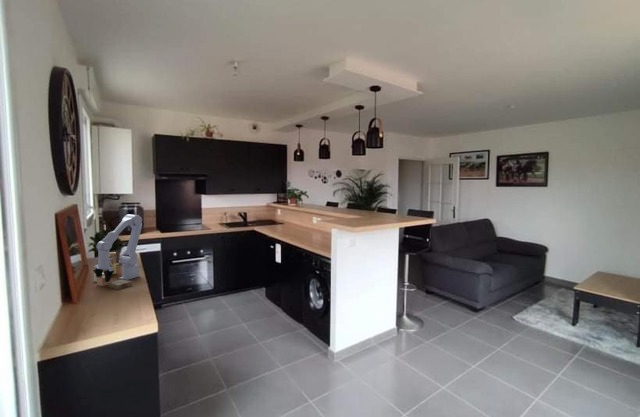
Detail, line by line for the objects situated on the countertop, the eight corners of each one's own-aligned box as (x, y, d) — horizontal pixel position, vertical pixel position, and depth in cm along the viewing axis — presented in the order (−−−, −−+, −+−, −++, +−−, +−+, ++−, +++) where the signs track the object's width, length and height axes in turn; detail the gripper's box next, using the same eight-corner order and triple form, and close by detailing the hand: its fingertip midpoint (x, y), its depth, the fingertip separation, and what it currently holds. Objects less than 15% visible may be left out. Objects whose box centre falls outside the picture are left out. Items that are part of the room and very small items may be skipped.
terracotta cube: (104, 283, 196) (104, 275, 196) (110, 284, 195) (110, 276, 194) (96, 285, 192) (96, 277, 192) (102, 286, 190) (102, 278, 190)
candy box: (115, 272, 220) (115, 251, 220) (116, 273, 217) (116, 252, 216) (100, 274, 215) (100, 252, 214) (101, 275, 212) (101, 254, 211)
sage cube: (101, 279, 203) (101, 272, 203) (106, 280, 202) (106, 273, 201) (93, 281, 199) (93, 274, 198) (99, 282, 197) (99, 275, 197)
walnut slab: (121, 284, 197) (121, 279, 197) (131, 286, 194) (131, 281, 194) (107, 287, 188) (107, 283, 188) (118, 290, 185) (118, 285, 185)
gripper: (89, 259, 191) (89, 280, 192) (105, 262, 186) (105, 283, 187) (100, 257, 198) (100, 278, 198) (116, 260, 193) (116, 281, 193)
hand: (103, 280), depth 193 cm, fingers open, 7 cm apart
